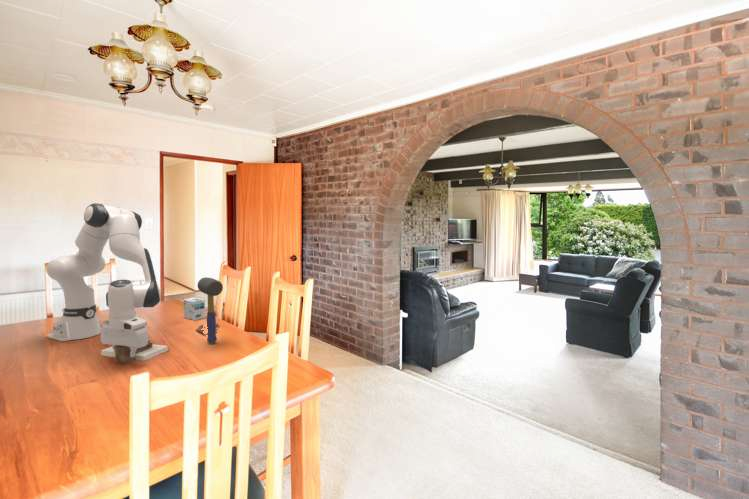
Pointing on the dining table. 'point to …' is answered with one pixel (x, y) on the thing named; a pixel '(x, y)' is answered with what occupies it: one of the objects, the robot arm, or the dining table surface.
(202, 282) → the rubber mallet
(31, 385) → the dining table surface
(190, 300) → the light bulb box
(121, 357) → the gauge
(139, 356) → the board
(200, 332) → the wooden fragment
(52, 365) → the dining table surface
